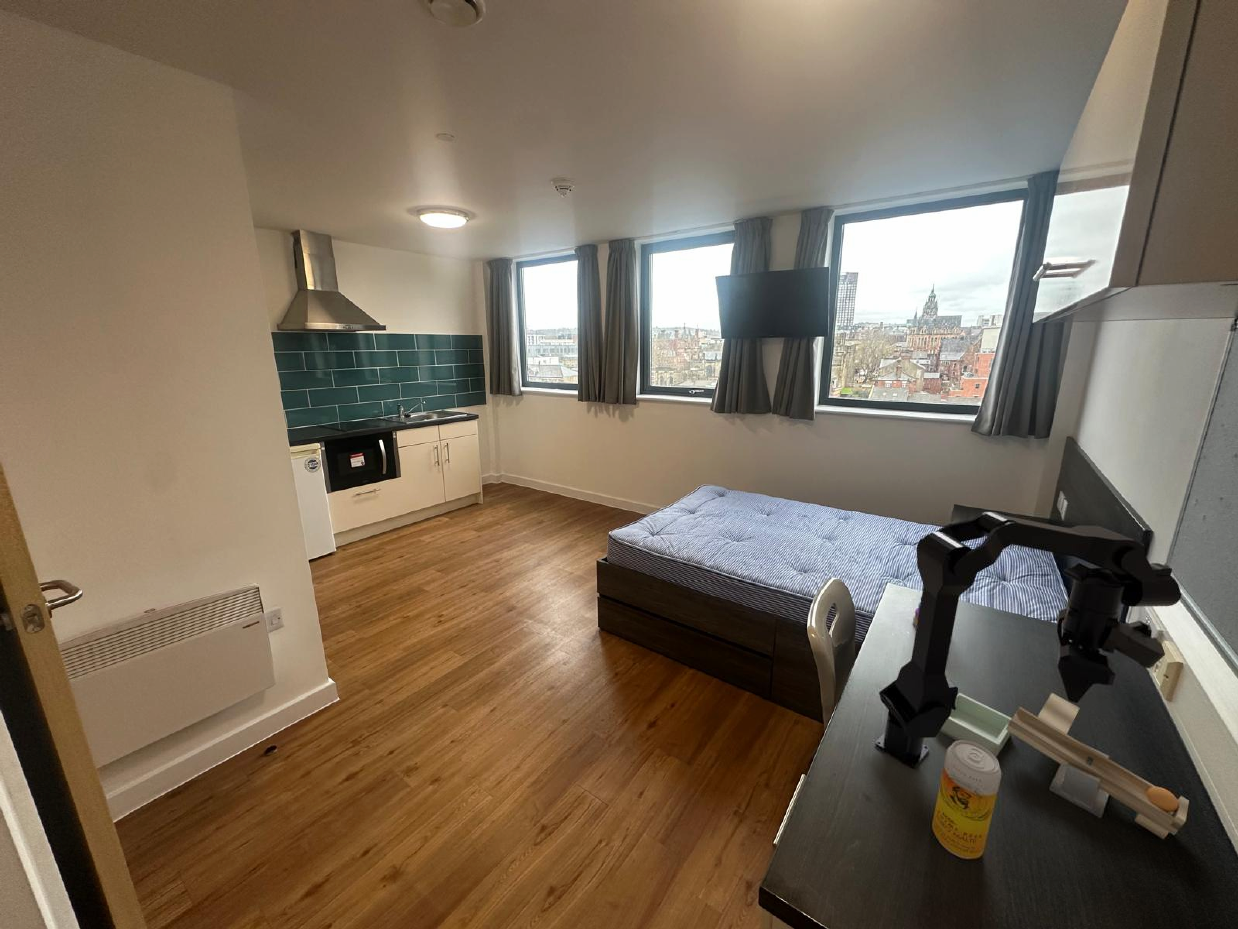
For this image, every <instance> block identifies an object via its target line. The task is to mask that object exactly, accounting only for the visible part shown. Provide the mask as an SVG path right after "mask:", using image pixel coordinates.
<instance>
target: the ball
mask: <svg viewBox="0 0 1238 929" xmlns="http://www.w3.org/2000/svg"><path fill="white" fill-rule="evenodd" d="M1147 797H1148V799H1149V801H1150V802H1151V803H1152V804H1153V805H1155V806H1157V807H1158V808H1160V809H1162V810H1163V811H1165V812H1173V811H1175V810H1177V808H1178V801H1177V799H1178V798H1177V797H1176V796H1175V795H1174V794H1173V793H1172V792H1171V791H1170V790H1168V789H1166V788H1163V787H1160V786H1156V787H1152V788H1150V789H1149V790H1148V791H1147Z"/></svg>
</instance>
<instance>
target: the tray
mask: <svg viewBox="0 0 1238 929" xmlns="http://www.w3.org/2000/svg"><path fill="white" fill-rule="evenodd" d="M955 707H956V710H953V709H952V712H951V714H950V717H949V718H948V719H947V720H946V722H945V723H944V725H943V726H942V728H941V730H940V731H939V732H940V733H942V734H944V735H946V736H948V737H949V738H951V739H953V740H955V741H959V740H965V741H970V742H973V743H976V744H978V745H980V746H982V747H984V748H985V749H987V750H988V751H990V752H991V753H992V754H993V755H994V756H995V757H996V758H997V757H998V755H999V754H1000V752H1001V751H1002V749H1003V747H1004V746H1005V744H1006V743H1007V741H1008V740H1009V738H1010V737H1011V734H1012V733H1011V732H1009V731H1007V730H1006V728H1007V726H1008V724H1009V722H1010V720H1011V719H1012V718H1013V717H1010V716H1008V715H1006V714H1004V713H1002V712H1000V711H997V710H995V709H994V708H991V707H989V706H987V705H986V704H984V703H981V702H979V701H977V700H975V699H973V698H971V697H968V696H967V695H964V694H963V693H961V692H959V691H958V695H957V698H956V700H955Z"/></svg>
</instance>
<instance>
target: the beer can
mask: <svg viewBox="0 0 1238 929" xmlns="http://www.w3.org/2000/svg"><path fill="white" fill-rule="evenodd" d="M943 763H944V764H943V769H942V774H941V779H940V784H939V789H938V794H937V799H936V804H935V809H934V815H933V818H932V819H933V820H932V825H931V827H932V831H933V833H934V835H935V837H936V839H937V840H938V842H939V843H940V844H941V846H942V847H943V848H944V849H946V850H947V851H948V852H949V853H951V854H953V855H955V856H956V857H959V858H961V859H965V860H966V859H967V860H972V859H977V858H980V857H981V856H982V855H983V854H984V850H985V846H986V843H987V842H986V841H987V838H988V835H989V834H988V833H989V828H990V826H991V821H992V816H993V812H994V808H995V804H996V799H997V795H998V793H999V792H998V791H999V788H1000V783H1001V780H1002V771H1001V767H1000V763H999V760H998V758H997V757H995V756H994V755H993V754H992V753H991V752H990V751H988V750H987V749H985V748H984V747H982V746H980V745H978V744H976V743H973V742H970V741H965V740H959V741H957V740H955V741H954V742H952V744H951V745H950V746H949V747H948V748H947V749H946V754H945V759H944V762H943Z"/></svg>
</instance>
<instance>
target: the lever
mask: <svg viewBox="0 0 1238 929" xmlns="http://www.w3.org/2000/svg"><path fill="white" fill-rule="evenodd" d="M1080 709H1081V708H1080V707H1079V706H1077V705H1075V704H1073V703H1071V701H1069V700H1066V699H1064V698H1062V697H1060V696H1058V695H1057V694H1055V693H1053V692H1051V693H1050V695H1049V697H1048V699H1047V700H1046V702H1045V704H1044V705H1043V707H1042V709H1041V710H1040V712H1039V714H1038V715H1037V716H1036V715H1035V714H1033V713H1032V712H1030V711H1028V710H1027V709H1025V708H1023V707H1021V706H1019V707H1018V708H1017V710H1016V712H1015V714H1014V715H1013V717H1011V718H1012V719H1011V720H1010V722H1009V724H1008V726H1007V728H1006V730H1007V731H1009V732H1011V734H1012V735H1014V736H1016V737H1017V738H1019V739H1021V741H1024V742H1025V743H1027V744H1028V745H1030V746H1031V747H1033V748H1035V749H1036V750H1038V751H1039V752H1041V753H1042V754H1044V755H1045V756H1047V757H1048V758H1051V759H1052V760H1054V761H1055V762H1057V763H1059V764H1060V765H1061V764H1062V765H1063V766H1065V767H1066V768H1067V766H1068V763H1069V764H1071V765H1073V766H1075V767H1077V768H1079V769H1081V770H1083V771H1085V772H1087V773H1089V774H1091V775H1093V776H1095V777H1097V778H1099V779H1100V782H1099V785H1098V788H1100V789H1101V790H1103V791H1105V792H1106V793H1108V794H1109V795H1110V796H1111V797H1112V798H1114V799H1115V800H1118V801H1119V802H1121V803H1122V804H1124V805H1125V806H1127V807H1129V808H1130V809H1132V810H1133V811H1135V812H1136V814H1135V818H1134V822H1136V823H1137V824H1139V825H1140V826H1142V827H1144V828H1145V829H1147V830H1149V832H1151V833H1153V834H1155V835H1156V836H1158V837H1159V838H1161V839H1162V840H1165V838H1166V837H1167V836H1168V834H1169V833H1170V834H1172V836H1173V835H1174V836H1175V835H1176V834H1177V833H1178V832H1179V830H1180V829H1181V828H1182V826H1184V824H1185V823H1186V821H1187V815H1188V809H1189V803H1190V800H1188V799H1186V797H1184V796H1182V795H1180V797H1178V798H1176V799H1177V801H1178V808H1177V810H1175V811H1173V812H1165V811H1163V810H1162V809H1160V808H1158V807H1157V806H1155V805H1153V804H1152V803H1151V802H1150V801H1149V799H1148V797H1147V791H1148V790H1149V789H1150V788H1152V787H1157V786H1155V785H1154V784H1152V783H1150V782H1149V781H1147V780H1145V779H1143V778H1142V777H1141V776H1139V775H1137V774H1135V773H1133V772H1132V771H1130V770H1129V769H1128V768H1127V769H1126V768H1125V767H1124V766H1121V765H1120V764H1118V763H1116V762H1115V761H1113V760H1111V759H1110V758H1106V757H1105V756H1103V755H1101V754H1100V753H1098V752H1096V751H1094V750H1093V749H1094V748H1093V749H1091V748H1092V747H1091V748H1089V747H1090V746H1089V745H1087V744H1085V743H1083V742H1081V741H1079V740H1077V739H1076V738H1074V737H1072V736H1070V735H1069V734H1068V733H1069V731H1070V728H1071V727H1072V725H1073V723H1074V721H1075V718H1076V716H1077V714H1078V712H1079V710H1080ZM1082 743H1083V744H1082ZM1084 744H1085V745H1084ZM1086 745H1087V746H1086ZM1088 746H1089V747H1088Z"/></svg>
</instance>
